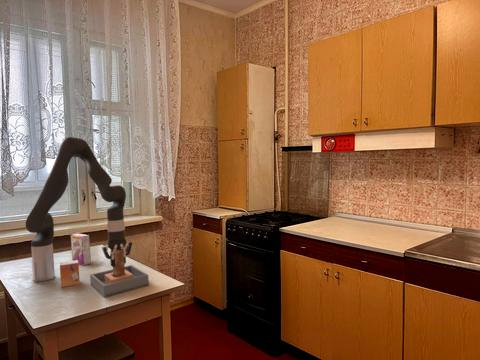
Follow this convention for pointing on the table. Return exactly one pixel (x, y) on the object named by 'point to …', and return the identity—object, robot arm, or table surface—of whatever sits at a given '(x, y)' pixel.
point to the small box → (69, 273)
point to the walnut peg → (119, 263)
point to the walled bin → (118, 281)
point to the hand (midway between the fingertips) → (118, 265)
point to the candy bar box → (81, 248)
